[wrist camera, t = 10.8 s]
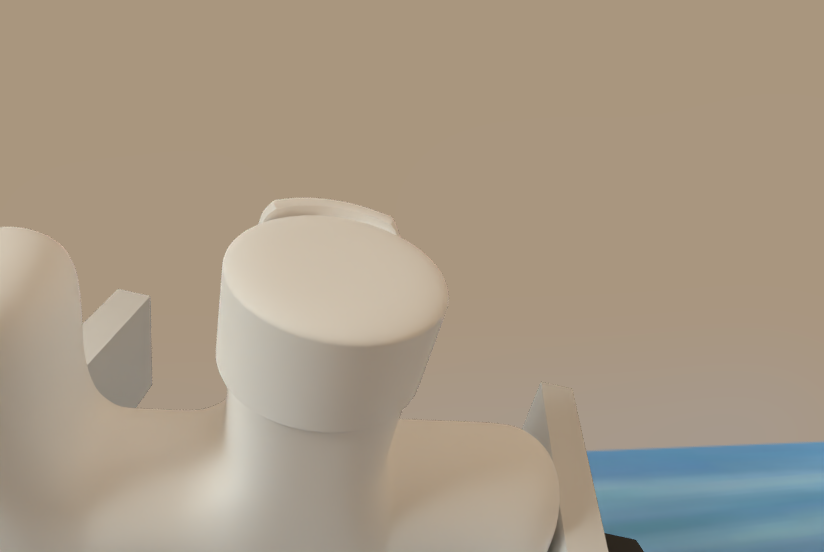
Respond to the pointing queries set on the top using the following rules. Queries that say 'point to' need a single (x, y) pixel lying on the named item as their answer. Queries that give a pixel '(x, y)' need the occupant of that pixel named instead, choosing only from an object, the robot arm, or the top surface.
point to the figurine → (262, 412)
